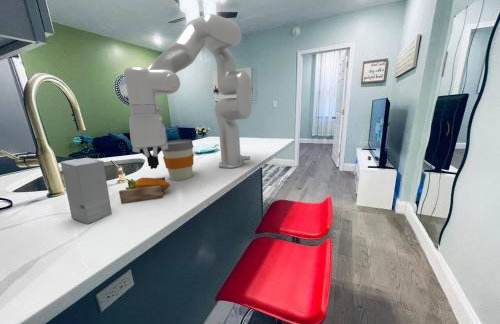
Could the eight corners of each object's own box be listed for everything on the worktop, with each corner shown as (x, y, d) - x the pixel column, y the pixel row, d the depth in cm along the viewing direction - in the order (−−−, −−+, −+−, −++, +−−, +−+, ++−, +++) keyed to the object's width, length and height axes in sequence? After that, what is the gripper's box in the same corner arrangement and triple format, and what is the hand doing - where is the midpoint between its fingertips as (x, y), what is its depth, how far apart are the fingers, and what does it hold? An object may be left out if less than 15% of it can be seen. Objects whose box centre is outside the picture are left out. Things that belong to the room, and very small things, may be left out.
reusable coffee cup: (166, 174, 92) (161, 141, 88) (195, 171, 96) (192, 138, 92) (164, 183, 80) (158, 145, 77) (197, 179, 84) (193, 142, 80)
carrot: (173, 177, 72) (132, 178, 73) (167, 176, 67) (123, 177, 68) (173, 192, 72) (131, 192, 73) (166, 192, 67) (121, 192, 68)
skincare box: (71, 218, 56) (54, 162, 52) (99, 207, 62) (87, 156, 58) (87, 225, 52) (71, 165, 48) (116, 212, 58) (103, 158, 54)
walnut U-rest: (166, 187, 76) (164, 177, 75) (162, 197, 67) (160, 186, 66) (130, 192, 73) (128, 181, 72) (121, 203, 64) (118, 191, 63)
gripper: (171, 110, 70) (178, 162, 74) (121, 112, 66) (132, 167, 71) (168, 109, 63) (176, 168, 67) (113, 112, 59) (125, 173, 64)
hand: (154, 167), depth 69 cm, fingers closed
